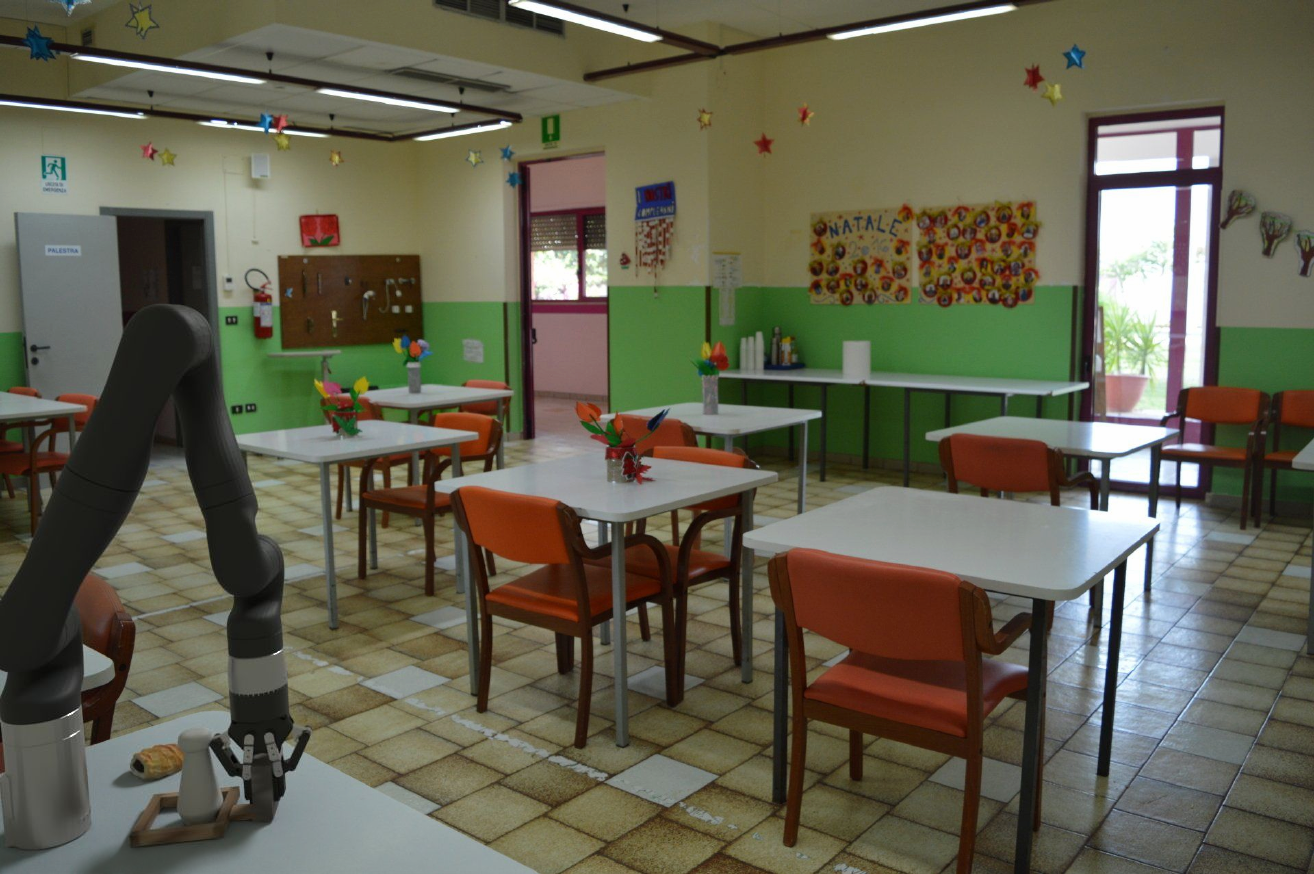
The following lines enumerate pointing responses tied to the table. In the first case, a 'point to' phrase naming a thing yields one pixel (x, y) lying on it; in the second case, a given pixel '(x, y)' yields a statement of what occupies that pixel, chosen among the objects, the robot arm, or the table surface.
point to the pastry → (157, 761)
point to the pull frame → (230, 811)
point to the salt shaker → (198, 779)
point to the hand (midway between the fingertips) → (266, 799)
